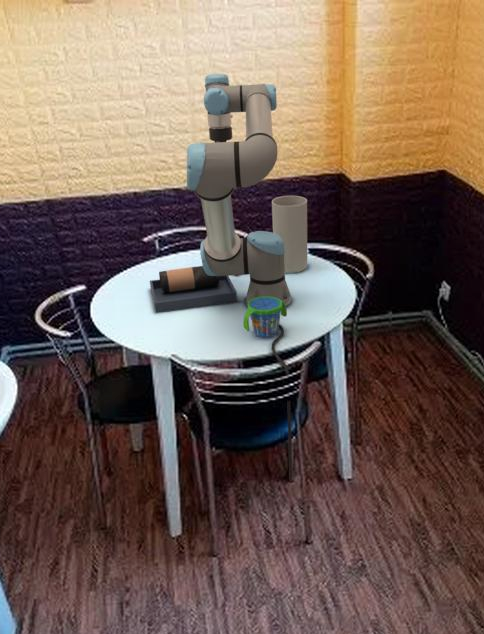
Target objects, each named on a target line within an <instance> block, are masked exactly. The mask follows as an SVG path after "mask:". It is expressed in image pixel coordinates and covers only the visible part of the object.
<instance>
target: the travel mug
mask: <svg viewBox="0 0 484 634" xmlns="http://www.w3.org/2000/svg"><path fill="white" fill-rule="evenodd" d="M158 275H159V279H160V283H161V289H162V293H168V292H175V291H183V290H191V289H198V288H203V287H209V286H215V285H219V276H209V275H207V274H206V273H205V271H204V268H203V265H199V266H190V267H189V266H188V267H181V268H176V269H169V270H161V271H159V272H158Z"/></svg>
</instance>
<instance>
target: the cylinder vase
mask: <svg viewBox="0 0 484 634" xmlns="http://www.w3.org/2000/svg"><path fill="white" fill-rule="evenodd" d="M271 214H272V215H271V218H272V233H275V234H277V235H279V236H280V237H281V238H282V239H283V242H284V250H285V254H284V264H285V274H296V273H300V272H303V271H305V270H306V269H307V267H308V199H307V198H306V197H303V196H299V195H283V196H277V197H275V198H273V199H272V200H271Z"/></svg>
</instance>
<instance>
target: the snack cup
mask: <svg viewBox="0 0 484 634" xmlns="http://www.w3.org/2000/svg"><path fill="white" fill-rule="evenodd" d="M287 314H288V311H287V306H286V305H285V303H284V302H283V301H281V300H279V299H278V298H275V297H269V296H263V297H257V298H254V299H251V300H250V301H249V302H248V305H247V309H246V311H245V313H244V315H243V322H242V323H243V324H242V325H243V328H244V330H245V331H246V332H250V330H251V329H250V321H251V327H252V331H253V334H254V335H255V337H260V338H271V337H274V336H276V335H278V332H279V329H280V328H279V325H280V319H281V316H282V317H284V318H285V317H287V316H288V315H287ZM249 318H250V321H249Z"/></svg>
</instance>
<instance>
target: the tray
mask: <svg viewBox="0 0 484 634" xmlns="http://www.w3.org/2000/svg"><path fill="white" fill-rule="evenodd" d="M149 286H150V287H149V288H150V291H151V295H152V302H153V305H154V310H155V313H157V314H159V313H165V312H171V311H179V310H187V309H194V308H202V307H209V306H210V307H211V306H216V305H217V306H218V305H223V304H232V303H237V302H238V293H237V291H236V288H235V287H234V284H233V282H232V280H231V278H230V275H228V276H219V285H215V286H209V287H203V288H198V289H191V290H183V291H175V292H168V293H162V289H161V283H160V278H159V279H151V280H149Z"/></svg>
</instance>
